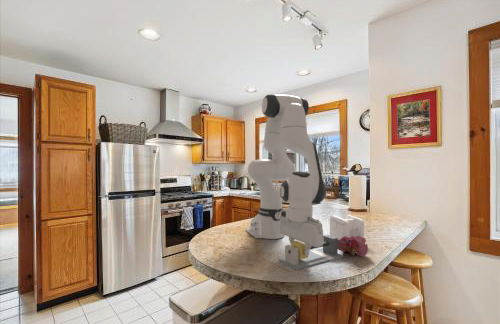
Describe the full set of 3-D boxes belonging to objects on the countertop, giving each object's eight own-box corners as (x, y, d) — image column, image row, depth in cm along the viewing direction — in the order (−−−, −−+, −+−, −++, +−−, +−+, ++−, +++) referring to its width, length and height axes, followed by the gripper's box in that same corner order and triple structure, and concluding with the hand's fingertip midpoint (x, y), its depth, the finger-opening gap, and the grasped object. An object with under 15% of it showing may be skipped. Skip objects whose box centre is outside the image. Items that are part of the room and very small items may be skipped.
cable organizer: (365, 245, 111) (366, 220, 111) (345, 246, 109) (345, 221, 109) (346, 236, 126) (347, 213, 126) (328, 237, 124) (328, 214, 124)
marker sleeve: (291, 255, 92) (291, 241, 92) (298, 253, 94) (299, 240, 94) (300, 259, 87) (300, 245, 88) (308, 257, 90) (308, 244, 90)
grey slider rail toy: (278, 260, 92) (278, 241, 92) (323, 249, 105) (324, 233, 105) (296, 270, 83) (297, 249, 83) (343, 256, 96) (343, 239, 96)
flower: (340, 258, 104) (348, 237, 107) (363, 267, 96) (371, 244, 100) (329, 247, 97) (339, 225, 101) (353, 257, 90) (362, 232, 93)
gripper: (328, 219, 84) (327, 259, 83) (289, 209, 101) (288, 243, 101) (315, 221, 80) (314, 263, 80) (277, 211, 98) (276, 245, 98)
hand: (299, 251), depth 91 cm, fingers closed on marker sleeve, 5 cm apart
